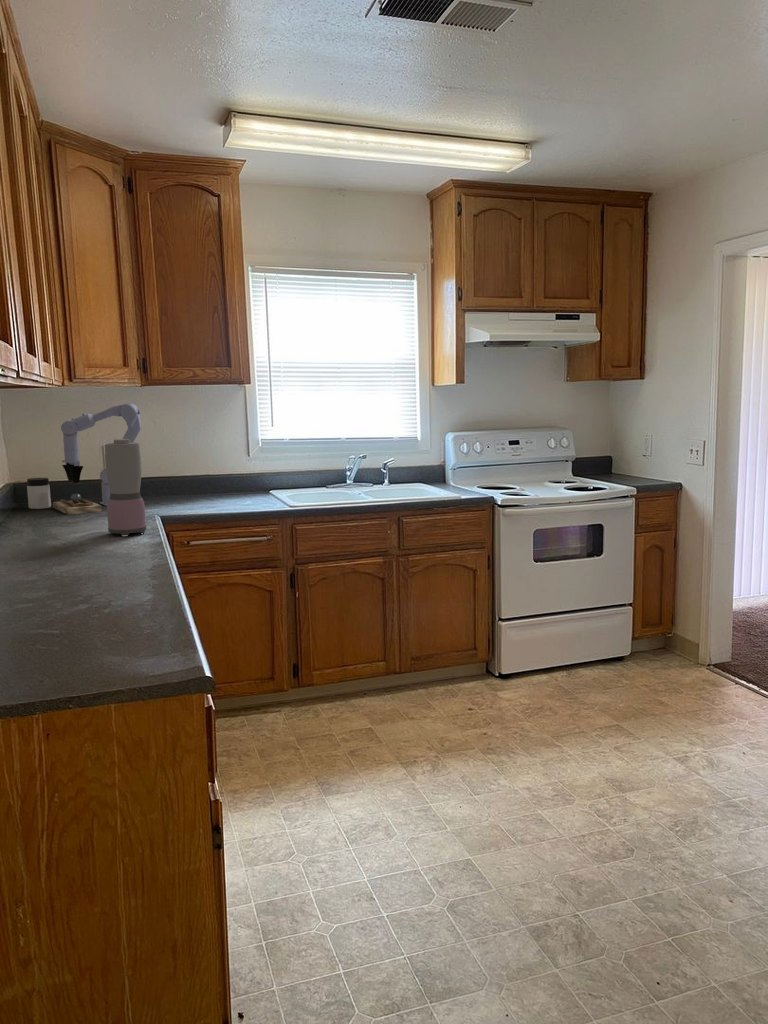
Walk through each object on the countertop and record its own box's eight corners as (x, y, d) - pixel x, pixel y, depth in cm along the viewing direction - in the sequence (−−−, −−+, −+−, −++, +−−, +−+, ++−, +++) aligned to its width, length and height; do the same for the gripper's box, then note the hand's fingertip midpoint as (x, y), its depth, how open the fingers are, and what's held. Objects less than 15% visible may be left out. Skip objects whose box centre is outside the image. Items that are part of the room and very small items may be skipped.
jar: (32, 509, 306) (30, 480, 304) (25, 507, 312) (23, 478, 310) (54, 507, 312) (52, 478, 310) (47, 505, 318) (45, 477, 316)
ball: (83, 492, 308) (82, 501, 306) (79, 496, 311) (79, 505, 309) (73, 490, 305) (72, 499, 304) (69, 494, 308) (69, 503, 306)
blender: (153, 533, 255) (147, 439, 249) (118, 538, 246) (112, 441, 241) (131, 527, 266) (126, 437, 260) (98, 532, 257) (91, 439, 252)
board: (85, 504, 318) (85, 496, 318) (101, 511, 301) (101, 503, 300) (53, 507, 311) (52, 499, 310) (67, 514, 293) (67, 506, 293)
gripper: (56, 449, 318) (59, 480, 320) (66, 451, 306) (68, 484, 308) (74, 448, 322) (76, 479, 324) (84, 450, 310) (86, 482, 313)
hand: (73, 481), depth 317 cm, fingers open, 7 cm apart
